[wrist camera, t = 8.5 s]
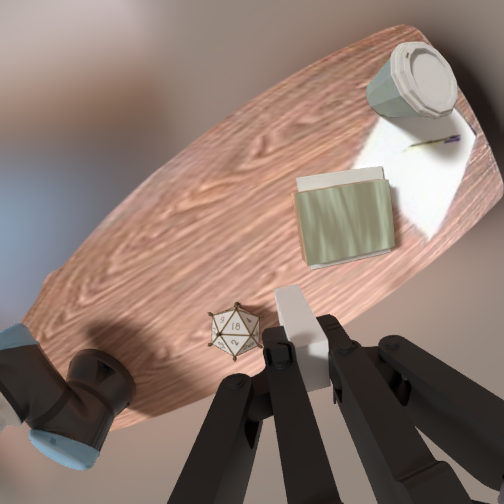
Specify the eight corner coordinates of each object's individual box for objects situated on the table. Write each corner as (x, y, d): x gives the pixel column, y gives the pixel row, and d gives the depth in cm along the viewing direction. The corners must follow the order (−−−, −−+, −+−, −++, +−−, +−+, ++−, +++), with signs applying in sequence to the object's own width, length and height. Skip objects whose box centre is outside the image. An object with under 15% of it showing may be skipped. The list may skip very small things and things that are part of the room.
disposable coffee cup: (413, 91, 35) (467, 70, 21) (399, 142, 38) (459, 133, 23) (361, 60, 34) (406, 22, 20) (344, 111, 37) (391, 83, 22)
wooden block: (307, 266, 38) (395, 246, 38) (296, 194, 36) (388, 179, 35) (302, 258, 42) (384, 241, 41) (291, 192, 39) (377, 179, 39)
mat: (310, 268, 43) (311, 269, 42) (295, 177, 39) (296, 177, 39) (388, 251, 42) (390, 252, 42) (380, 166, 39) (381, 166, 38)
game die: (243, 300, 48) (281, 304, 39) (242, 348, 47) (278, 361, 38) (195, 299, 43) (226, 306, 34) (194, 352, 42) (225, 370, 33)
